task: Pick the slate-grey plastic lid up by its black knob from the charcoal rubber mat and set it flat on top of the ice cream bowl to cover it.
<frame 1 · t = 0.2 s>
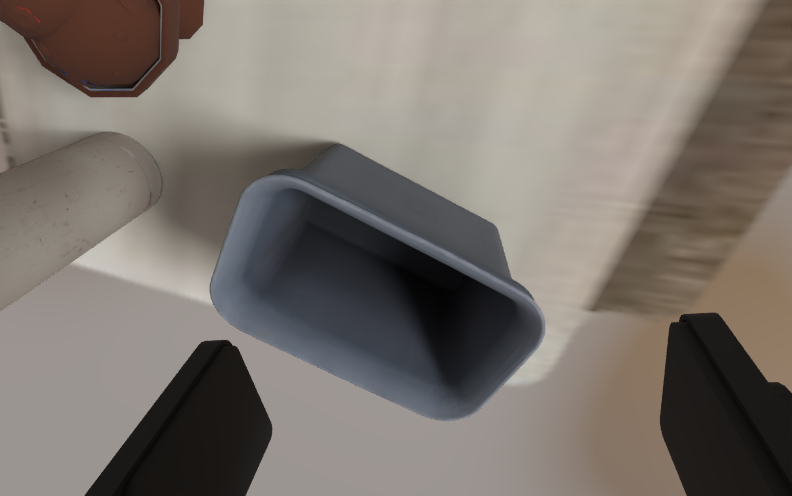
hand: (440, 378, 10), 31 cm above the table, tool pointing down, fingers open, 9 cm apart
ice cream bowl: (172, 2, 37), on the table
storage bin: (396, 228, 44), on the table
thermos bottle: (124, 171, 46), on the table
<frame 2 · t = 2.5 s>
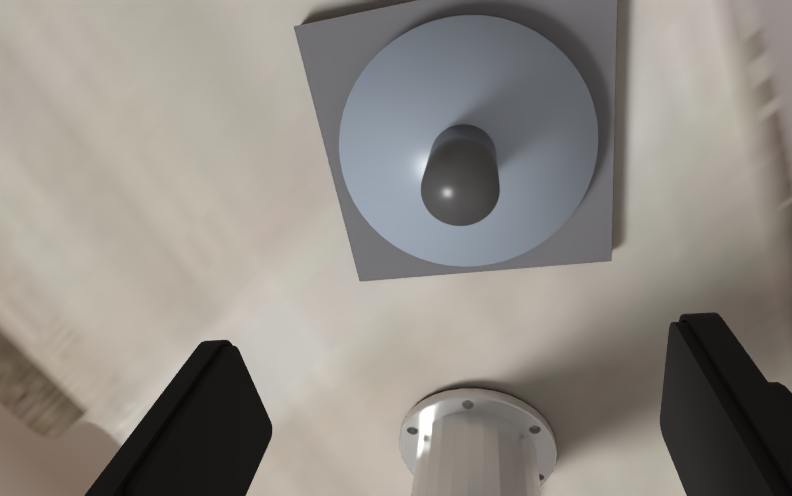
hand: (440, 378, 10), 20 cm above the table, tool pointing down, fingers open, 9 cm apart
mat: (463, 146, 28), on the table
lid: (463, 151, 27), point 1 cm above the table, touching mat
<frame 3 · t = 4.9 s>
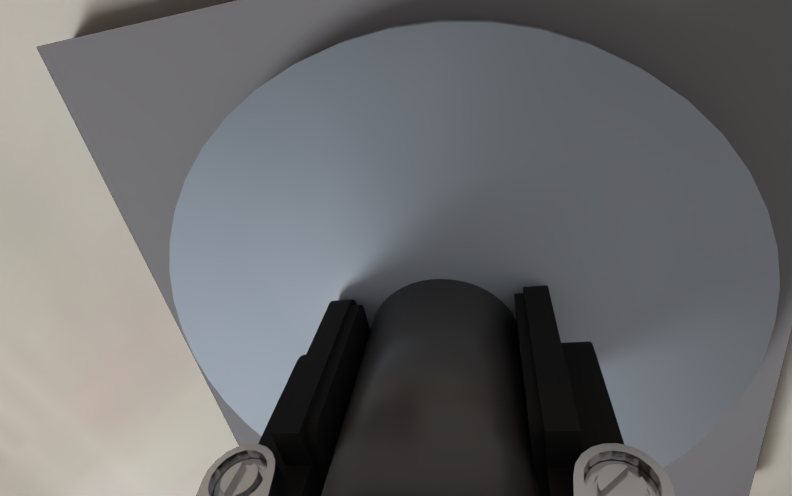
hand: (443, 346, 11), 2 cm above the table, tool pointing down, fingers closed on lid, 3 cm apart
mat: (448, 292, 13), on the table
lid: (446, 315, 12), point 1 cm above the table, touching gripper, mat
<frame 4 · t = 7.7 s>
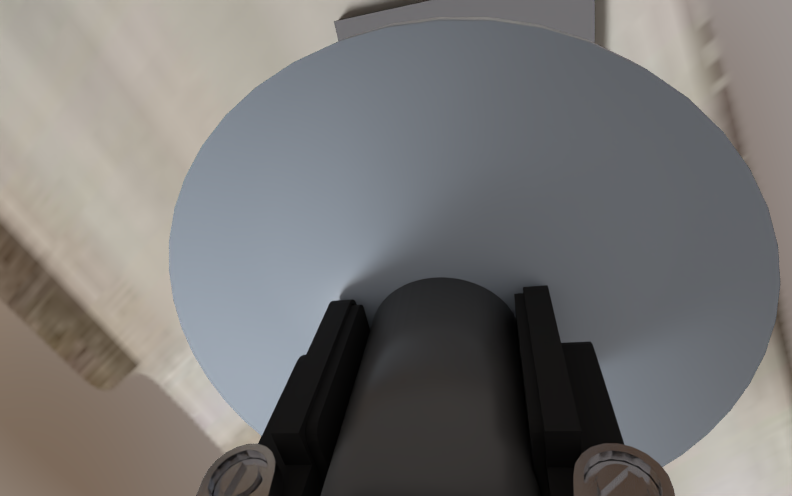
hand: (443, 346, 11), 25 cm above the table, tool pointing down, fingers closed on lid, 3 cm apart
mat: (472, 119, 33), on the table
lid: (446, 314, 12), point 24 cm above the table, touching gripper
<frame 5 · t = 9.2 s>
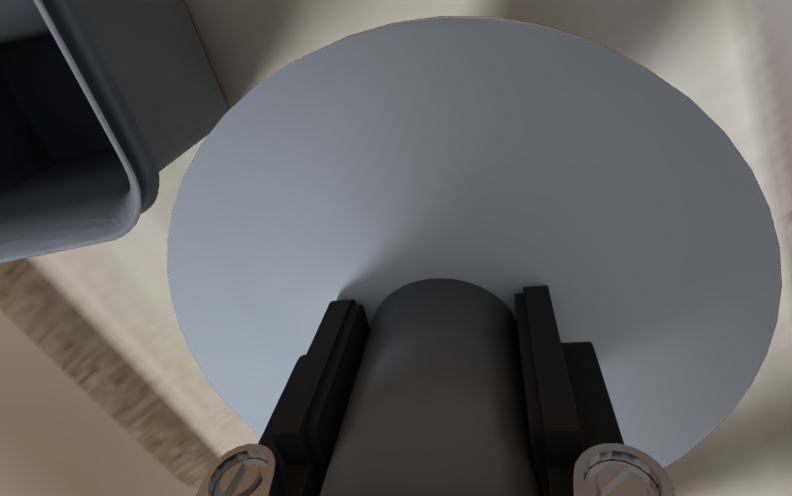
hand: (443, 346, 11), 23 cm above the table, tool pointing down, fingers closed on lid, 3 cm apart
lid: (446, 315, 12), point 22 cm above the table, touching gripper
storage bin: (106, 70, 34), on the table
when the fingers open (18 cm above the table, at t = 10.4 s): lid drops 1 cm, resting on ice cream bowl.
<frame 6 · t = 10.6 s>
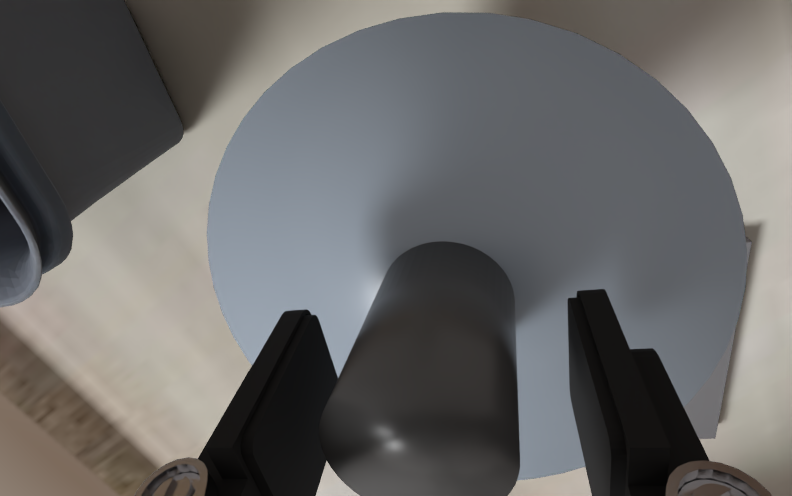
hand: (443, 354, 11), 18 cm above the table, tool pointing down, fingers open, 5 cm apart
mat: (593, 347, 32), on the table
lid: (450, 282, 14), point 15 cm above the table, touching ice cream bowl
storage bin: (41, 81, 29), on the table
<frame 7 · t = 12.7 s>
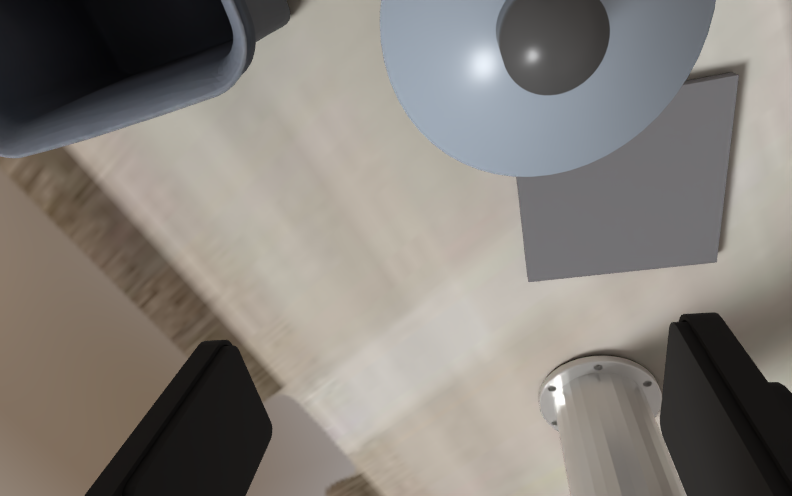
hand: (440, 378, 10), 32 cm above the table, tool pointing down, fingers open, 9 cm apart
mat: (615, 188, 40), on the table
lid: (535, 24, 21), point 15 cm above the table, touching ice cream bowl
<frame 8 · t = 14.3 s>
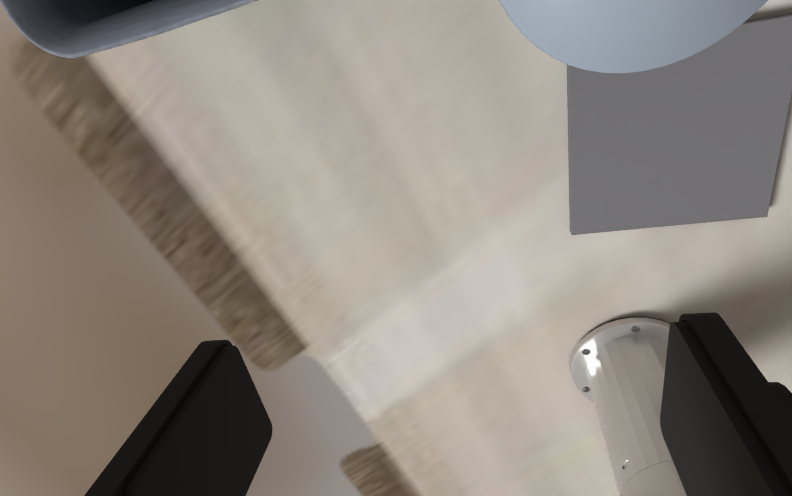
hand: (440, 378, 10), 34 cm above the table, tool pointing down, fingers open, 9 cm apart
mat: (668, 136, 40), on the table
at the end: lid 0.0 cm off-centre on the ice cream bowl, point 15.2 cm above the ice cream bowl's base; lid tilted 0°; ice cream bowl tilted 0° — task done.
